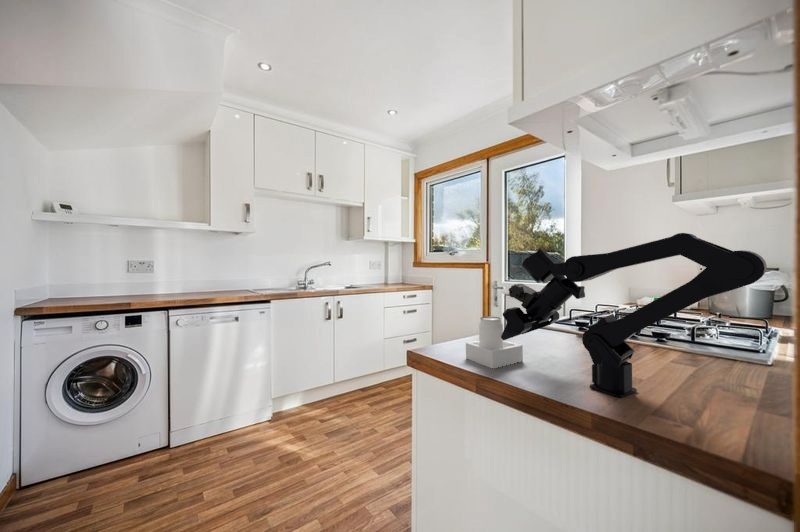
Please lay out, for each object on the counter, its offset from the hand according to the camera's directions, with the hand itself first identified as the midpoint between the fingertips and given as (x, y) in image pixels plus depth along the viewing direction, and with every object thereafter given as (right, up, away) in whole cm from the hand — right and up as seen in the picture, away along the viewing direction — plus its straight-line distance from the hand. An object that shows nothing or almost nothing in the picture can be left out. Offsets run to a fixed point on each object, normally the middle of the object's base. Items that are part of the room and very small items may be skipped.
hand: (512, 335), depth 89 cm
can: (-4, -8, +4) cm, 10 cm away
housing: (-4, -8, +5) cm, 10 cm away
